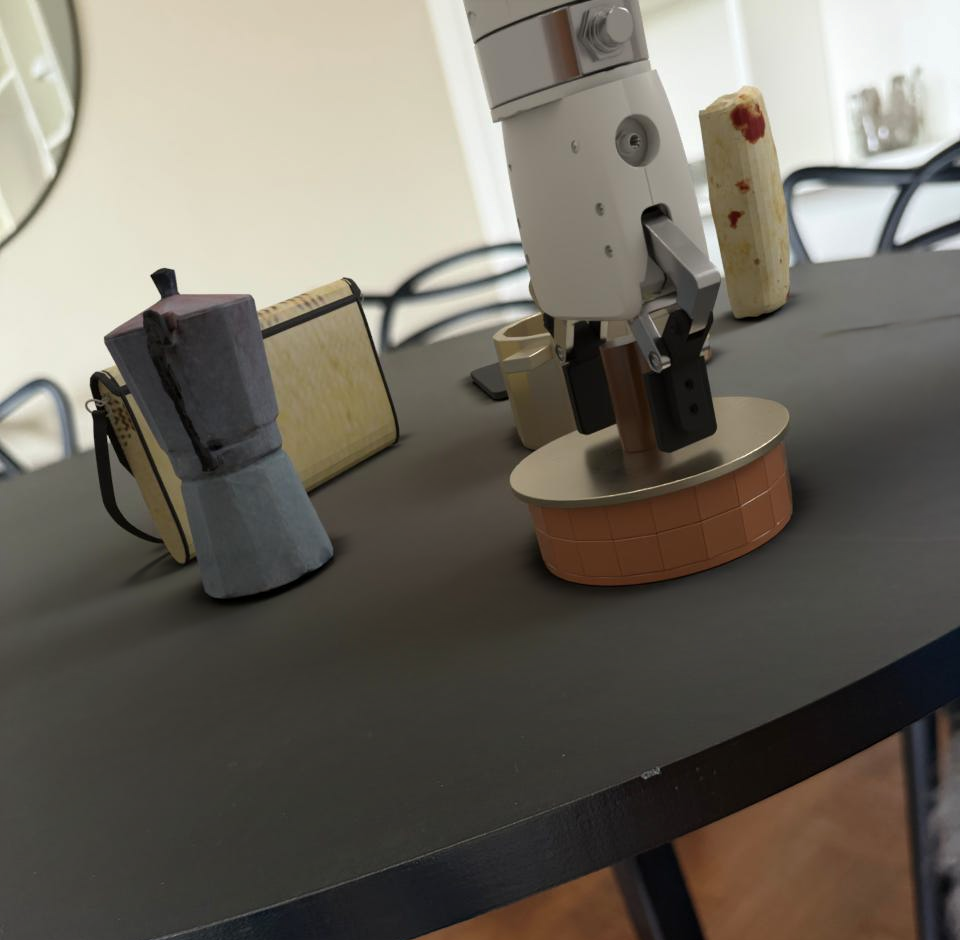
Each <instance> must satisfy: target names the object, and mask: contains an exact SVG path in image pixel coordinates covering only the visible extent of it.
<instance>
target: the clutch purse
mask: <svg viewBox="0 0 960 940" xmlns="http://www.w3.org/2000/svg"><path fill="white" fill-rule="evenodd" d="M361 297H362V298H361ZM360 299H361V300H360ZM364 300H365V296H364V293H363V292H362V290H361V288H360V287H359V286H358V284H357V283H356V281H354V279H352V278H350V277H346V276H345V277H344V276H343V277H342V278H341V279H338V280H335V281H332V282H330V283H327V284H325V285H322V286H319V287H317V288H314V289H312V290H308V291H306V292H303V293H301V294H298V295H295V296H293V297H290V298H287V299H285V300H282V301H279V302H277V303H274V304H272V305H270V306H267V307H264V308H261V309H259V310H257V314H258V319H259V323H260V328H261V332H262V337H263V342H264V346H265V351H266V356H267V361H268V365H269V369H270V373H271V378H272V382H273V387H274V391H275V396H276V400H277V405H278V410H279V415H278V416H277V418H276V421H277V424H278V428H279V431H280V434H281V437H282V440H283V442H282V447H281V449H282V450H284V451H286V453H287V454H288V456H289V458H290V460H291V462H292V464H293V466H294V468H295V470H296V472H297V474H298V476H299V478H300V480H301V482H302V484H303V486H304V489H305V491H306V493H307V494H308V493H309V492H311V491H312V490H314V489H316V488H317V487H320V486H322V484H324V483H326V482H328V481H329V480H331V479H333V478H335V477H337V476H338V475H340V474H342V473H344V472H345V471H347V470H348V469H351V468H352V467H354V466H356V465H358V464H359V463H361V462H363V461H365V460H366V459H368V458H369V457H371V456H373V455H375V454H377V453H378V452H381V451H382V450H383V449H385V448H388V446H391V445H393V446H394V445H396V444H398V442H399V440H400V436H401V435H400V425H399V418H398V416H397V411H396V408H395V405H394V401H393V398H392V394H391V391H390V388H389V385H388V382H387V380H386V376H385V373H384V370H383V367H382V363H381V361H380V357H379V354H378V351H377V348H376V344H375V341H374V337H373V335H372V331H371V329H370V326H369V322H368V319H367V316H366V313H365V311H364V307H363V304H364ZM89 388H90V393H91V396H92V398H90V399H87V400H86V401H85V402H84V408H85V410H86V411H87V412H88V413H89V414H91V418H92V433H93V434H92V435H93V436H92V437H93V445H94V454H95V463H96V470H97V478H98V483H99V484H98V485H99V489H100V495H101V499H102V504H103V507H104V508H105V510H106V512H107V513H108V515H109V516H110V517H111V519H112V520H113V521H114V522H115V523H116V525H117V526H119V527H120V528H122V529H123V530H124V531H126V532H127V533H129V534H130V535H133V536H134V537H137V538H139V539H141V540H143V541H146V542H149V543H153V544H160V545H161V544H162V545H163V544H164V545H165V547H166V549H167V550H168V552H169V553H170V555H171V556H172V557H173V559H174V560H175V561H176V562H178V563H179V564H181V565H183V566H186V565H187V564H189V563H190V562H191V561H190V560H192V559H194V558H195V557H197V556H196V552H195V547H194V543H193V538H192V534H191V530H190V526H189V522H188V518H187V514H186V509H185V504H184V500H183V497H182V493H181V482H182V481H181V479H179V478H178V477H177V476H176V475H175V472H174V470H173V467H172V465H171V462H170V460H169V457H168V455H167V454H166V453H165V452H164V451H163V450H162V449H161V448H160V446H159V444H158V443H157V441H156V439H155V437H154V435H153V434H152V432H151V430H150V428H149V426H148V424H147V422H146V420H145V418H144V417H143V415H142V413H141V411H140V409H139V407H138V405H137V403H136V401H135V400H134V398H133V396H132V394H131V392H130V390H129V388H128V387H127V385H126V383H125V381H124V379H123V377H122V375H121V373H120V371H119V369H118V367H117V366H116V364H115V365H112V366H109V367H107V368H104V369H101V370H99V371H94V372H93V373H92V374H91V376H90V377H89ZM91 402H93V403H94V405H95V408H96V409H93V410H91V409H90V408H89V407H88V405H89V403H91ZM108 439H109V440H108ZM109 441H110V444H111V446H112V449H113V451H114V453H115V455H116V458H117V459H118V462H119V464H121V466H122V467H123V468H124V469H125V470H126V471H127V472H128V473H129V474H130V475H131V476H132V477H133V478H134V479H135V481H136V484H137V487H138V489H139V490H140V493H141V495H142V498H143V500H144V502H145V505H146V507H147V509H148V511H149V514H150V516H151V519H152V521H153V523H154V525H155V527H156V529H157V532H158V534H159V536H160V537H156V536H153V535H151V534H148V533H146V532H144V531H143V530H140V529H139V528H137V527H136V526H134V525H133V524H131V523H130V522H129V521H128V519H126V517H125V516H124V514H123V512H121V510H120V508H119V506H118V504H117V501H116V495H115V488H114V482H113V476H112V468H111V460H110V450H109V449H110V448H109Z"/></svg>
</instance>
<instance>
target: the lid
mask: <svg viewBox="0 0 960 940" xmlns="http://www.w3.org/2000/svg"><path fill="white" fill-rule="evenodd" d="M599 350H600V354H601V359H602V363H603V368H604V372H605V376H606V381H607V385H608V390H609V394H610V398H611V403H612V407H613V412H614V416H615V421H616V424H615V425H612V426H610V427H607V428H605V429H602V430H600V431H597V432H595V433H592V434H590V435H584V434H580V433H579V432H578V430H576V431H574V432H572V433H569V434H567V435H565V436H562V437H560V438H558V439H556V440H554V441H552V442H550V443H548V444H547V445H545V446H543V447H541V448H539V449H538V450H534V451H533V452H532V453H530V454H529V455H527V456H526V457H525V458H523V459H522V460H521V461H520V462H519V463H518V464H517V465H516V466H515V467H514V469H513V470H512V471H511V474H510V476H509V486H510V490H511V492H512V494H513V496H514V497H516V499H518V501H521V502H523V503H525V504H527V505H528V504H531V505H534V506H540V507H546V508H561V509H564V508H590V507H600V506H608V505H616V504H622V503H628V502H634V501H639V500H643V499H648V498H653V497H657V496H661V495H665V494H669V493H673V492H676V491H680V490H683V489H686V488H690V487H693V486H696V485H699V484H702V483H705V482H707V481H710V480H713V479H716V478H718V477H721V476H723V475H726V474H728V473H730V472H733V471H735V470H737V469H739V468H741V467H743V466H745V465H748V464H749V463H751V462H753V461H755V460H757V459H758V458H760V457H762V456H763V455H765V454H766V453H768V452H769V451H771V450H772V449H773V448H775V447H776V446H777V445H778V444H779V443H781V441H782V440H783V439H784V440H785V438H786V437H787V436H788V434H789V432H790V430H791V424H792V423H791V416H790V413H789V411H788V409H787V408H786V407H785V406H784V405H783V404H781V403H779V402H777V401H774V400H771V399H768V398H760V397H755V396H754V397H752V396H717V397H712V401H713V406H714V411H715V417H716V422H717V430H716V432H715V434H713V435H712V436H710V437H707V438H705V439H702V440H700V441H698V442H695V443H693V444H691V445H688V446H686V447H684V448H681V449H679V450H676V451H674V452H672V453H666V452H662V451H660V450H659V449H658V446H657V442H656V437H655V432H654V427H653V423H652V418H651V413H650V409H649V404H648V399H647V395H646V390H645V385H644V380H643V376H642V374H644V373H647V372H649V371H652V370H651V368H650V366H649V364H648V363H647V361H646V359H645V357H644V355H643V353H642V351H641V349H640V347H639V345H638V343H637V341H636V339H635V337H634V335H633V334H632V335H627V336H623V337H619V338H616V339H613V340H610V341H607V342H605V343H603V344H602V345H600V346H599Z"/></svg>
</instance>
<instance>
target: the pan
mask: <svg viewBox="0 0 960 940" xmlns="http://www.w3.org/2000/svg"><path fill="white" fill-rule="evenodd" d="M784 440H785V438H784V439H783V440H782V441H781V443H779V444H778V445H777V446H776V447H775V448H773V449H772V450H771V451H769V452H768V453H766V454H765V455H763V456H762V457H760V458H758V459H757V460H755V461H753V462H751V463H749V464H748V465H745V466H743V467H741V468H739V469H737V470H735V471H733V472H730V473H728V474H726V475H723V476H721V477H718V478H716V479H713V480H710V481H707V482H705V483H702V484H699V485H696V486H693V487H690V488H686V489H683V490H680V491H676V492H673V493H669V494H665V495H661V496H657V497H653V498H648V499H643V500H639V501H634V502H628V503H622V504H616V505H608V506H600V507H590V508H564V509H561V508H546V507H540V506H534V505H531V504H527V506H528V509H529V513H530V517H531V520H532V524H533V528H534V532H535V535H536V539H537V543H538V546H539V551H540V554H541V557H542V561H543V563H544V565H545V567H546V569H547V570H548V571H549V572H550V573H551V574H552V575H554V576H556V577H557V578H559V579H561V580H564V581H567V582H570V583H575V584H580V585H588V586H600V587H601V586H605V587H608V586H614V587H615V586H631V585H641V584H649V583H656V582H661V581H666V580H671V579H676V578H677V579H678V578H680V577H684V576H688V575H692V574H697V573H700V572H702V571H706V570H709V569H712V568H714V567H718V566H720V565H723V564H726V563H728V562H731V561H733V560H736V559H738V558H740V557H743V556H744V555H746V554H748V553H751V552H752V551H754V550H757V549H758V548H759V547H761V546H762V545H765V544H767V543H768V542H769V541H770V540H771V539H773V538H774V537H776V535H778V534H779V533H780V532H781V531H782V530H783V529H784V528H785V527H786V525H787V524H788V523H789V521H790V520H791V518H792V514H793V510H794V509H793V508H794V504H793V499H792V498H793V489H792V485H791V478H790V472H789V466H788V459H787V453H786V447H785V446H786V445H785V441H784Z"/></svg>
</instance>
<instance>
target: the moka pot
mask: <svg viewBox="0 0 960 940" xmlns="http://www.w3.org/2000/svg"><path fill="white" fill-rule="evenodd" d="M149 277H150V278H151V280H152V282H153V284H154V286H155V287H156V289H157V291H158V294H159V295H160V299H159V300H157V301H156V302H155V303H153V304H152V305H150V306H149V307H147V308H146V309H144V310H142V311H141V312H140V313H138V314H136V315H135V316H133V317H131V318H129V319H128V320H127V321H125V322H123V323H122V324H120V325H118V326H116V328H114V329H113V330H111V331H109V332H108V333H107V334H105V335H104V336H103V343H104V345H105V347H106V349H107V351H108V353H109V355H110V356H111V358H112V360H113V362H114V363H115V365H116V366H117V367H118V369H119V371H120V373H121V375H122V377H123V379H124V381H125V383H126V385H127V387H128V388H129V390H130V392H131V394H132V396H133V398H134V400H135V401H136V403H137V405H138V407H139V409H140V411H141V413H142V415H143V417H144V418H145V420H146V422H147V424H148V426H149V428H150V430H151V432H152V434H153V435H154V437H155V439H156V441H157V443H158V444H159V446H160V448H161V449H162V450H163V451H164V452H165V453H166V454H167V455H168V457H169V460H170V462H171V465H172V467H173V470H174V472H175V475H176V476H177V477H178V478H179V479H181V481H182V482H181V493H182V497H183V500H184V504H185V509H186V514H187V518H188V522H189V526H190V530H191V534H192V538H193V543H194V547H195V552H196V556H195V557H196V560H197V564H198V568H199V572H200V576H201V581H202V585H203V589H204V593H206V594H207V595H208V596H209V597H211V598H214V599H221V600H225V599H235V598H240V597H244V596H251V595H257V594H260V593H265V592H266V593H267V592H270V591H271V590H273V589H274V590H275V589H277V588H279V587H281V586H284V585H288V584H289V583H292V582H294V581H297V580H298V579H300V578H302V577H304V576H306V575H308V574H310V573H312V572H314V571H316V570H317V569H319V568H321V567H322V566H323V565H324V564H326V563H328V562H329V561H330V560H331V559H332V557H333V556H334V547H333V545H332V542H331V540H330V537H329V535H328V533H327V531H326V529H325V527H324V524H323V523H322V522H321V520H320V517H319V515H318V513H317V510H316V508H315V506H314V505H313V503H312V501H311V499H310V497H309V495H308V492H307V493H306V491H305V489H304V486H303V484H302V482H301V480H300V478H299V476H298V474H297V472H296V470H295V468H294V466H293V464H292V462H291V460H290V458H289V456H288V454H287V453H286V451H284V450H282V449H281V447H282V442H283V440H282V437H281V434H280V431H279V428H278V424H277V421H276V418H277V416H278V415H279V410H278V405H277V400H276V396H275V391H274V387H273V382H272V378H271V373H270V369H269V365H268V361H267V356H266V351H265V346H264V342H263V337H262V332H261V328H260V323H259V319H258V314H257V311H258V309H257V304H256V301H255V297H253V295H252V294H250V293H180V292H179V289H178V282H177V275H176V270H175V269H172V268H168V267H161V268H159V269H156V270H155V271H154V272H153V273H150V275H149Z"/></svg>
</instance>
